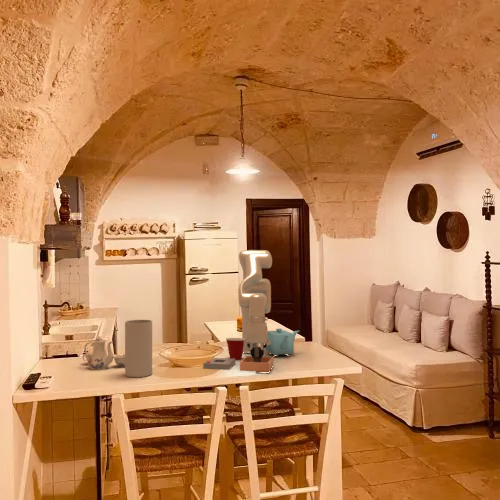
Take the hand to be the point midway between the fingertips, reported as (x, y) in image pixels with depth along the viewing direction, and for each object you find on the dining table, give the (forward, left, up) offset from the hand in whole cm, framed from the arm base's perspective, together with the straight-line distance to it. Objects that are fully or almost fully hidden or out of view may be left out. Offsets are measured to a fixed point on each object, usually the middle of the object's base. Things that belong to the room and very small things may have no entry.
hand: (257, 357), depth 237 cm
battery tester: (0, -19, -6) cm, 20 cm away
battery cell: (0, 0, -3) cm, 3 cm away
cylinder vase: (+20, -53, -6) cm, 57 cm away
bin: (0, 0, -6) cm, 6 cm away
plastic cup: (-18, -15, -6) cm, 24 cm away
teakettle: (-36, +6, -6) cm, 37 cm away
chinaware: (+8, -78, -7) cm, 78 cm away
